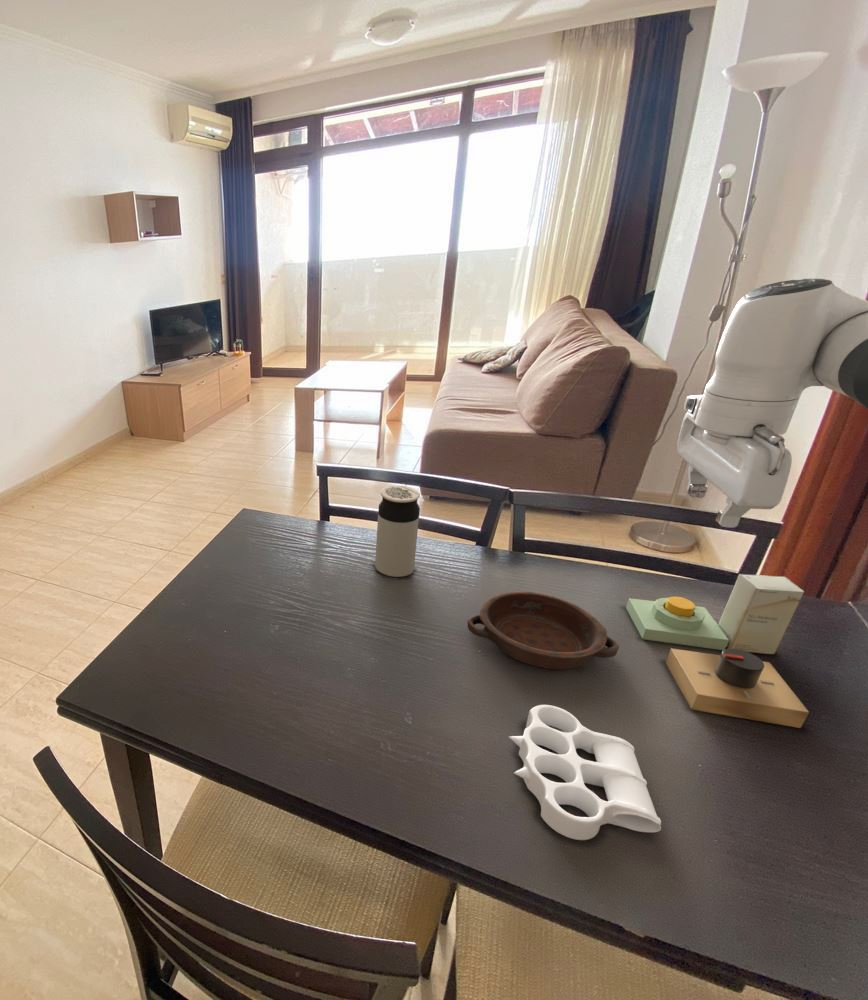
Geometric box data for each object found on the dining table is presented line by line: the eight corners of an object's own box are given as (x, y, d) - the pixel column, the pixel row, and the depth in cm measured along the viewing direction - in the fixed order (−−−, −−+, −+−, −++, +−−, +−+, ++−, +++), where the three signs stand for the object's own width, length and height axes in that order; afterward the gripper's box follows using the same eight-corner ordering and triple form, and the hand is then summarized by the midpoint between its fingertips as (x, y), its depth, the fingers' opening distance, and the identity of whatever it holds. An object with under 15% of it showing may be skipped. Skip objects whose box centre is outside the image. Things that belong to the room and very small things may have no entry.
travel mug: (387, 581, 112) (393, 504, 105) (368, 562, 119) (372, 488, 112) (421, 573, 114) (429, 496, 106) (399, 555, 121) (406, 482, 113)
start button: (687, 606, 92) (690, 598, 92) (696, 619, 89) (699, 610, 89) (661, 603, 94) (664, 595, 93) (669, 615, 91) (672, 607, 90)
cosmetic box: (728, 651, 87) (755, 589, 82) (712, 633, 91) (736, 573, 86) (776, 655, 86) (806, 591, 80) (758, 637, 89) (785, 575, 84)
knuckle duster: (666, 865, 59) (516, 824, 65) (621, 737, 74) (502, 712, 80) (675, 846, 58) (520, 805, 63) (627, 719, 73) (505, 695, 78)
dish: (462, 604, 103) (465, 582, 101) (598, 622, 96) (604, 599, 94) (469, 666, 89) (473, 642, 87) (630, 692, 81) (639, 667, 79)
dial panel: (762, 677, 82) (770, 661, 80) (800, 728, 73) (810, 711, 72) (665, 662, 86) (671, 647, 85) (691, 709, 78) (698, 693, 76)
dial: (746, 669, 79) (755, 649, 78) (762, 691, 76) (772, 670, 74) (709, 664, 81) (717, 644, 79) (722, 685, 77) (731, 664, 76)
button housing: (700, 617, 95) (708, 598, 93) (724, 650, 87) (733, 631, 86) (625, 607, 99) (631, 589, 97) (642, 639, 91) (648, 620, 89)
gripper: (825, 442, 60) (780, 548, 66) (735, 394, 77) (705, 482, 83) (753, 440, 62) (715, 543, 68) (680, 394, 79) (655, 480, 85)
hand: (709, 509), depth 76 cm, fingers open, 8 cm apart
